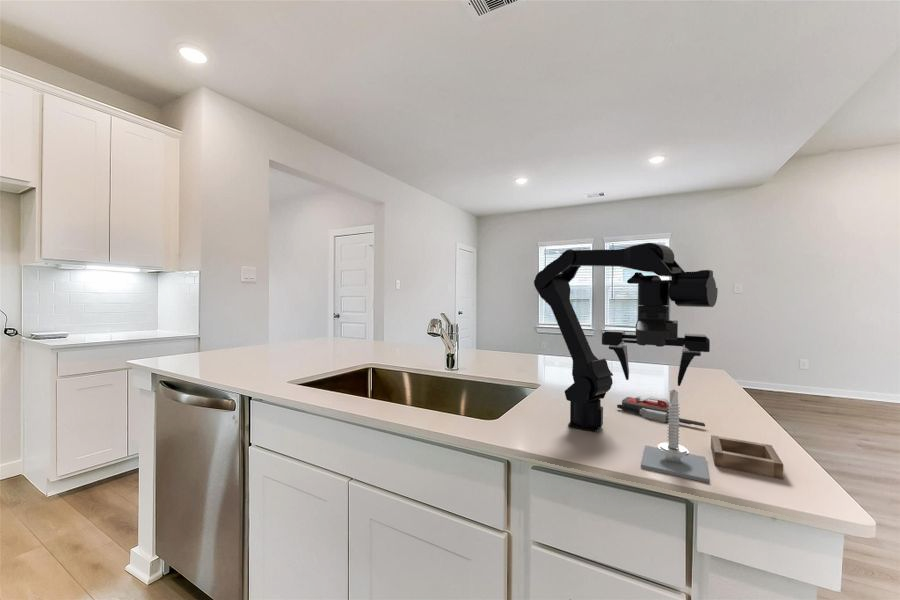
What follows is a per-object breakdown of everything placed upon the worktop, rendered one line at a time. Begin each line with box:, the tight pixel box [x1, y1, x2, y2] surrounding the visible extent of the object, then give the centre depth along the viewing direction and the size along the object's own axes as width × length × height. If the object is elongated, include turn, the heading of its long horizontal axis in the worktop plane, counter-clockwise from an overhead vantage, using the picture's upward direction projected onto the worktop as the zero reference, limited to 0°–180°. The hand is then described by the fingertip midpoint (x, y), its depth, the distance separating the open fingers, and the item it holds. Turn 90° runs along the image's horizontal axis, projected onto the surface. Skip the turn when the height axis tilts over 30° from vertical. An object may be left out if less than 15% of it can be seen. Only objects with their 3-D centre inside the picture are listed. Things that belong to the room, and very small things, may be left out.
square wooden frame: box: [710, 434, 784, 480], centre depth 69 cm, size 9×9×2 cm
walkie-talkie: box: [616, 395, 706, 427], centre depth 95 cm, size 9×4×20 cm
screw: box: [657, 389, 690, 463], centre depth 68 cm, size 13×5×5 cm
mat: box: [640, 444, 710, 484], centre depth 68 cm, size 10×10×1 cm
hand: (652, 382), depth 76 cm, fingers open, 9 cm apart
